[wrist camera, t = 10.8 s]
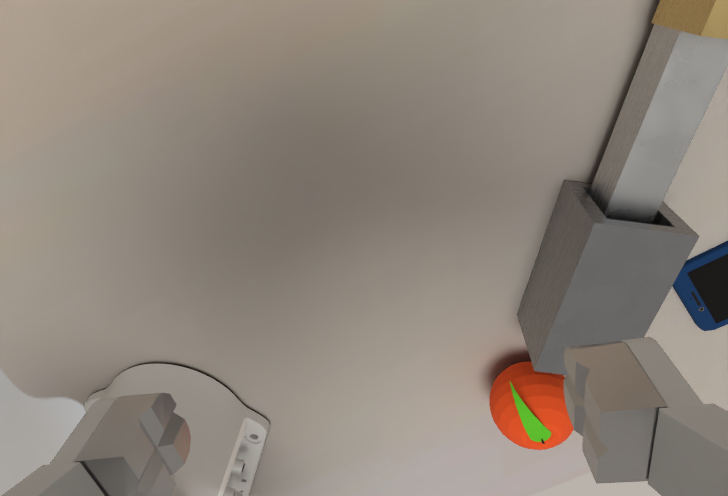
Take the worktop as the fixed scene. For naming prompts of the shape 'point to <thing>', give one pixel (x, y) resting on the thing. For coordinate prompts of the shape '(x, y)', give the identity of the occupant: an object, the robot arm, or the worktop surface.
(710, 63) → the gold-banded square post
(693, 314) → the cell phone
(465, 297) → the worktop surface
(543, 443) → the clementine
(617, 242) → the sleeve
